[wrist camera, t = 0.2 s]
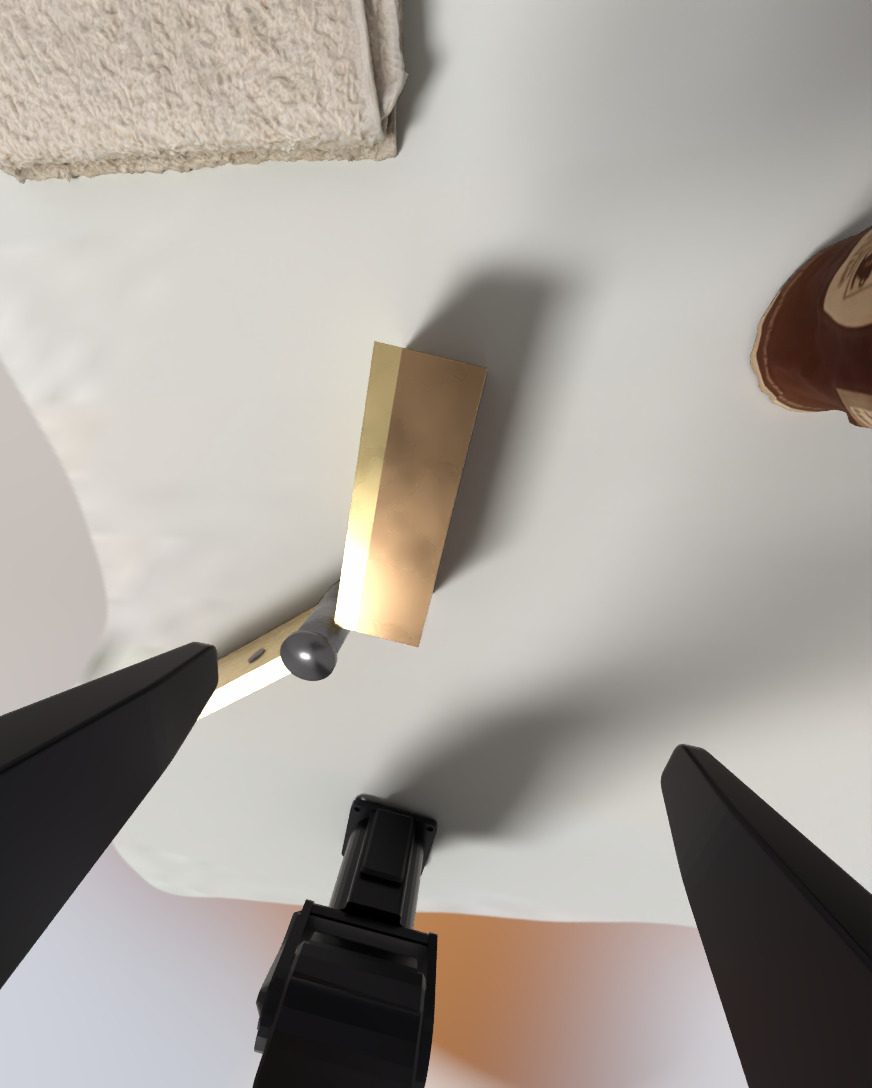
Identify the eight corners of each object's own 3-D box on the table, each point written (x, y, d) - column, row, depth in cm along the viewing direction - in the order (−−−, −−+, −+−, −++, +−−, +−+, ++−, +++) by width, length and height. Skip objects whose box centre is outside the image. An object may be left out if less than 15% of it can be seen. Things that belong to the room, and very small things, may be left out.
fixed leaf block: (432, 594, 23) (418, 647, 19) (364, 577, 23) (334, 625, 19) (487, 371, 19) (486, 367, 14) (402, 350, 19) (374, 341, 14)
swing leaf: (350, 570, 23) (311, 624, 18) (376, 606, 24) (346, 668, 19) (179, 668, 27) (108, 734, 22) (205, 696, 28) (143, 766, 23)
